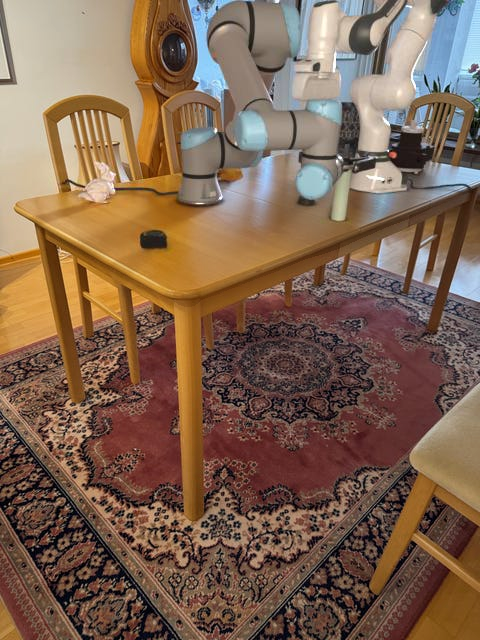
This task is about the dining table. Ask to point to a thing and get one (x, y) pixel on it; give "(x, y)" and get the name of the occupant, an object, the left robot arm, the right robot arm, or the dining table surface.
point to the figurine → (99, 185)
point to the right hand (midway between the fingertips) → (315, 115)
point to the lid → (305, 201)
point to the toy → (230, 174)
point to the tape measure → (153, 239)
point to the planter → (349, 129)
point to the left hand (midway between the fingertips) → (341, 154)
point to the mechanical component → (411, 149)
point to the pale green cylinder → (341, 196)
